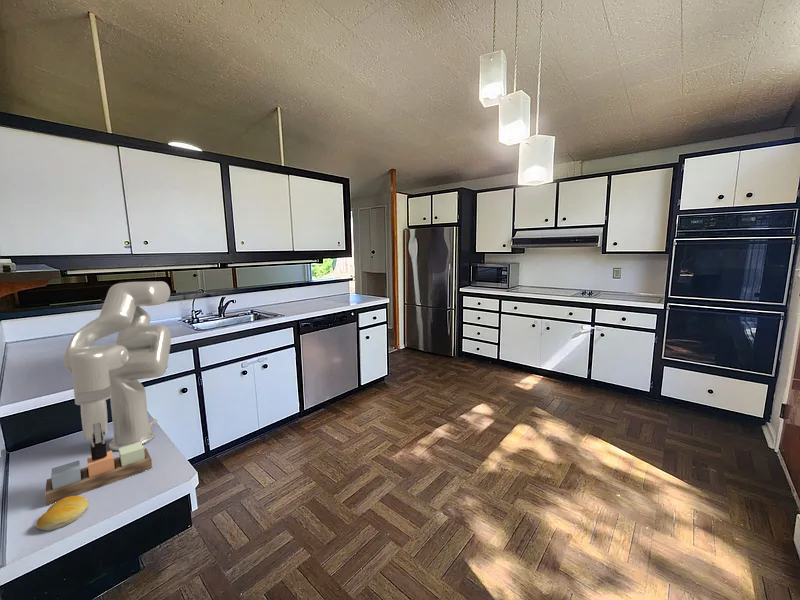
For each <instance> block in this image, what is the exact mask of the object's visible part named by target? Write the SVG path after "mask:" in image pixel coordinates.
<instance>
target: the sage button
mask: <svg viewBox="0 0 800 600" xmlns="http://www.w3.org/2000/svg"><path fill="white" fill-rule="evenodd" d="M144 449H145V447H144V444H143V445H142V442H138V443H135V444H131V445H128V446H125V447H121V448H119V450H118V453H119V455H118V457H120V463H121V466H122V467H123V466H126V465H129V464H132V463H135V462H138V461H141V460H144V459H145V453H144Z"/></svg>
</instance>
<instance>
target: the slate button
mask: <svg viewBox="0 0 800 600" xmlns="http://www.w3.org/2000/svg"><path fill="white" fill-rule="evenodd" d="M80 469H81V464H80V459H78V460H76V461H75V460H74V461H72V462H69V463H66V464H61V465H59V466H56V467H52V468H51V473H50V474H51V475H50V478H51V479H52V487H53V490H54V489H57V488H60V487H63V486H66V485H69V484H72V483H75V482H78V481H81V471H80Z"/></svg>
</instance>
